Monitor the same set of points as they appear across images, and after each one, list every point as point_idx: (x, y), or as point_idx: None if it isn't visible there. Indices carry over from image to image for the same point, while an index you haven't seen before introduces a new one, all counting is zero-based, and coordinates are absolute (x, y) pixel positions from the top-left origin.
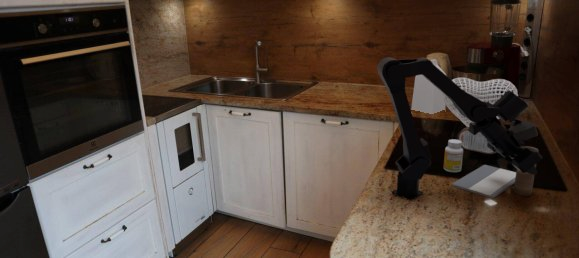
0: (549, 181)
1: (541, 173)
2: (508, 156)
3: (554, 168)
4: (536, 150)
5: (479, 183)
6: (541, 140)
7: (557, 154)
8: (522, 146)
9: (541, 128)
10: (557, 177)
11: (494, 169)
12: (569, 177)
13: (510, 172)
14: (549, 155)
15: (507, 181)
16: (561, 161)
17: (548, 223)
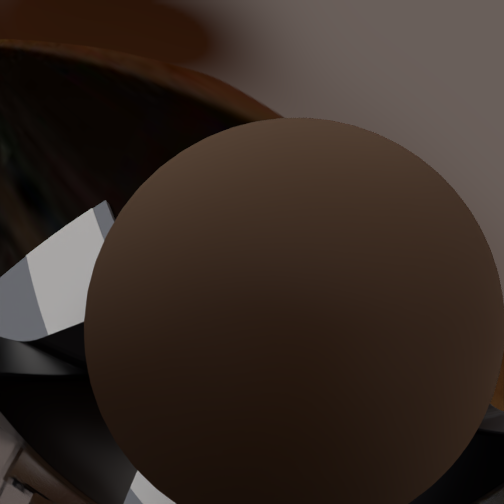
0: (190, 140)
1: (121, 124)
2: (119, 472)
3: (116, 75)
4: (458, 225)
5: (141, 490)
6: (18, 51)
7: (70, 44)
8: (89, 345)
9: (4, 41)
10: (172, 98)
11: (23, 288)
12: (188, 72)
13: (67, 242)
14: (61, 58)
15: None
16: (98, 48)
17: (496, 403)
